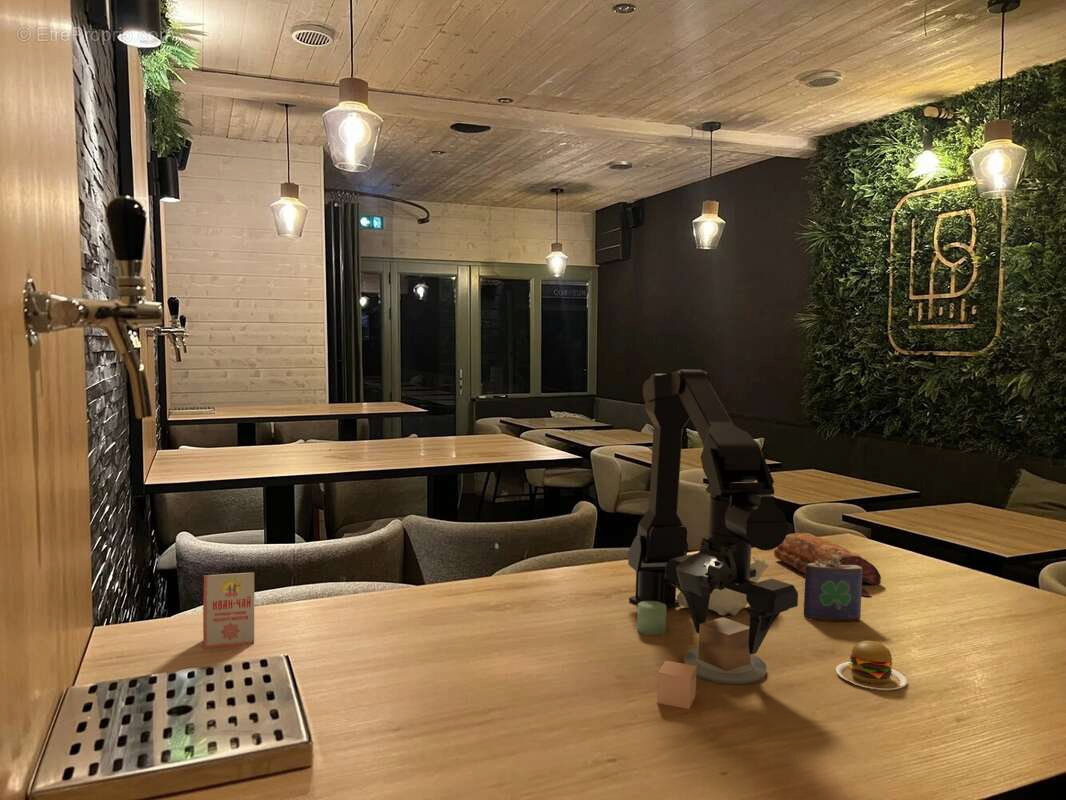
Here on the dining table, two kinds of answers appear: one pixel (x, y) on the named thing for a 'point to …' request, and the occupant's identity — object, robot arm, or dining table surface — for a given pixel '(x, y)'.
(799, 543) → the cured meat
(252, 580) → the tea box
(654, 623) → the green tin
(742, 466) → the robot arm
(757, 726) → the dining table surface
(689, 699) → the terracotta block
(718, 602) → the white lumpy piece
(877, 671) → the hamburger
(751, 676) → the saucer
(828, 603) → the flask
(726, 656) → the walnut block
